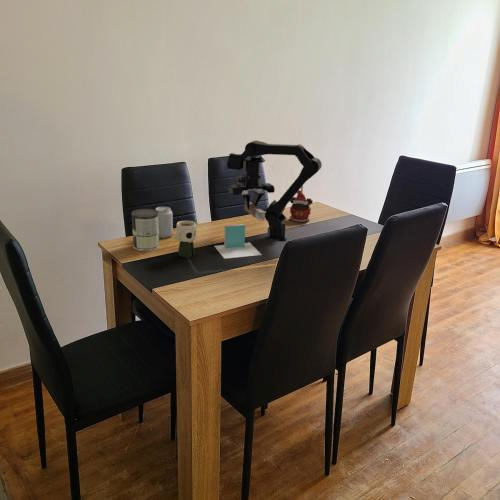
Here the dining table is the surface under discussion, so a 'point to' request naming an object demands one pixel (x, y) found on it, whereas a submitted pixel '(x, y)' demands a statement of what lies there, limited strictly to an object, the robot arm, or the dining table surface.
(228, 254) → the mat
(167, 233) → the can
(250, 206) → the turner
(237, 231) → the tile
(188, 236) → the character mug
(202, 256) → the dining table surface
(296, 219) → the red and brown figurine
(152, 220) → the coffee can
